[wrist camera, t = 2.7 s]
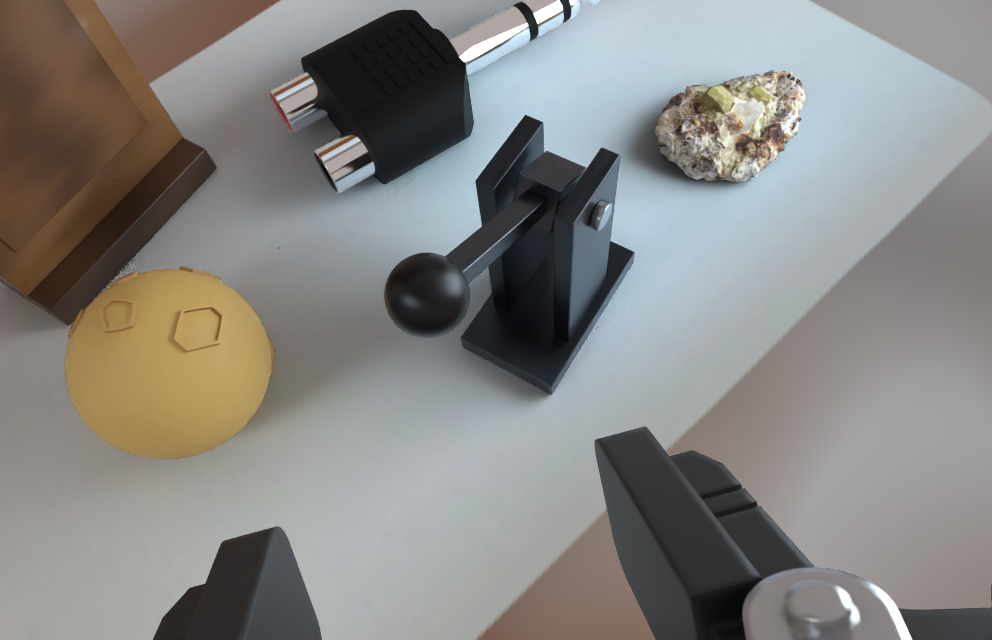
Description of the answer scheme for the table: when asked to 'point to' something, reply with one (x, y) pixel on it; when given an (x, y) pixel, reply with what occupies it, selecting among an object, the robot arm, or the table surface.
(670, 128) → the mineral rock
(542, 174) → the lever
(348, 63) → the audio adapter
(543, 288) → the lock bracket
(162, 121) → the door
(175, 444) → the stress ball
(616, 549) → the robot arm
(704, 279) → the table surface
